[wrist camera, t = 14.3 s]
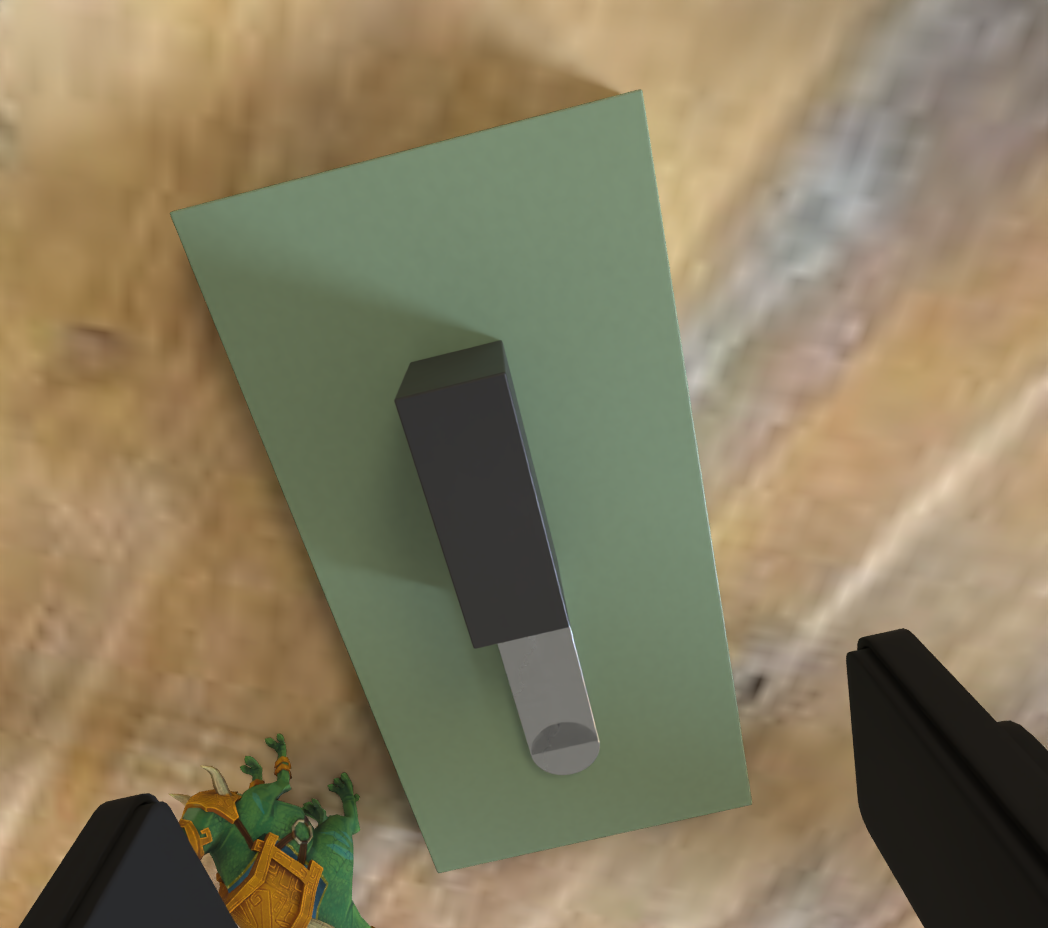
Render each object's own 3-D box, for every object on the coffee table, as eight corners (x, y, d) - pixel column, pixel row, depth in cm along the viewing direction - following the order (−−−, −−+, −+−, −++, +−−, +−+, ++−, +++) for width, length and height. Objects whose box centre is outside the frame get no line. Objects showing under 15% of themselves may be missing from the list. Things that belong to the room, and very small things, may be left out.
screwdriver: (409, 362, 19) (393, 399, 16) (502, 338, 19) (505, 371, 16) (535, 774, 25) (543, 866, 21) (607, 757, 24) (626, 847, 21)
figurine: (221, 677, 24) (100, 900, 17) (467, 849, 28) (460, 1097, 20) (166, 728, 25) (27, 965, 17) (413, 889, 28) (388, 1144, 21)
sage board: (738, 773, 27) (752, 805, 26) (440, 839, 28) (437, 874, 26) (630, 95, 18) (642, 88, 17) (191, 210, 19) (168, 212, 17)
